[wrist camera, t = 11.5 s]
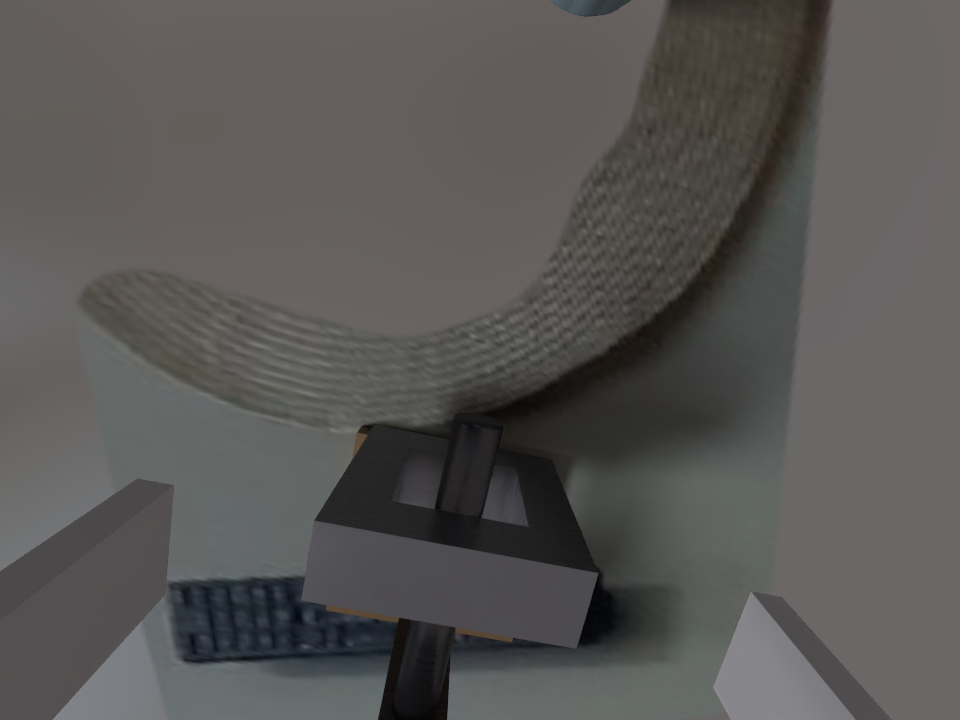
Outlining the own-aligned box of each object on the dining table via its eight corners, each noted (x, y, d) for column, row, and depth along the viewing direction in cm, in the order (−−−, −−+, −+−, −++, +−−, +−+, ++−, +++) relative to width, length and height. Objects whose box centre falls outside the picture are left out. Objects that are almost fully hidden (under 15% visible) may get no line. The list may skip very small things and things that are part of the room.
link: (374, 424, 21) (314, 520, 13) (551, 459, 21) (598, 573, 13) (364, 476, 21) (301, 600, 13) (538, 509, 22) (576, 648, 14)
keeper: (375, 345, 23) (299, 409, 13) (573, 386, 24) (651, 479, 13) (331, 597, 26) (239, 817, 15) (510, 628, 26) (535, 860, 16)
